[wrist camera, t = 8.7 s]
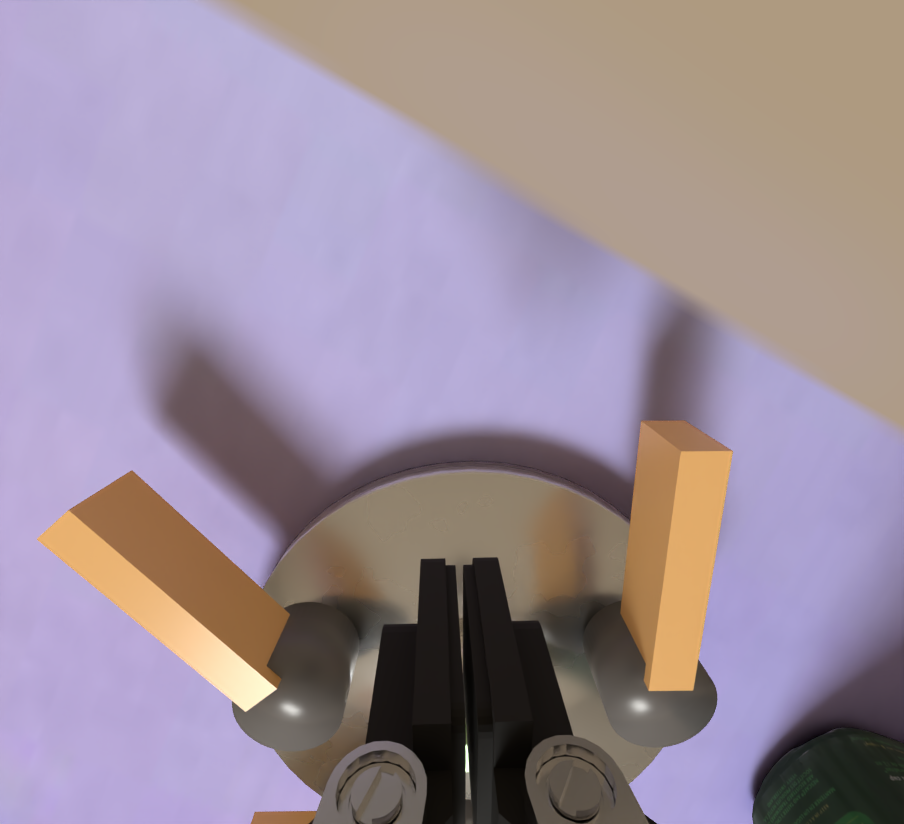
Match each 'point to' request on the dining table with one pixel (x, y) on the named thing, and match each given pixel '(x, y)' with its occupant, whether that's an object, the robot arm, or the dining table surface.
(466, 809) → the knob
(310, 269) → the dining table surface
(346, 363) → the dining table surface
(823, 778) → the coffee jar
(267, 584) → the level plate
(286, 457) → the dining table surface
